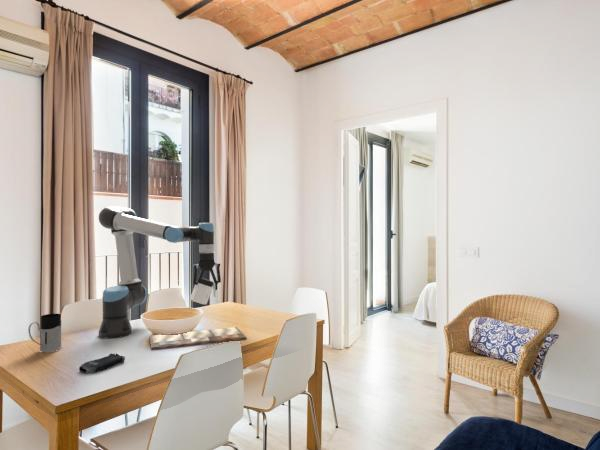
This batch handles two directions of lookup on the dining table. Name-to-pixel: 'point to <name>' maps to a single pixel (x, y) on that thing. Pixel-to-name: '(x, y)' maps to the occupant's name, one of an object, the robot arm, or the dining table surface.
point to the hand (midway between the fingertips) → (207, 296)
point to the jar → (202, 291)
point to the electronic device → (102, 363)
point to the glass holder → (49, 332)
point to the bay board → (196, 338)
